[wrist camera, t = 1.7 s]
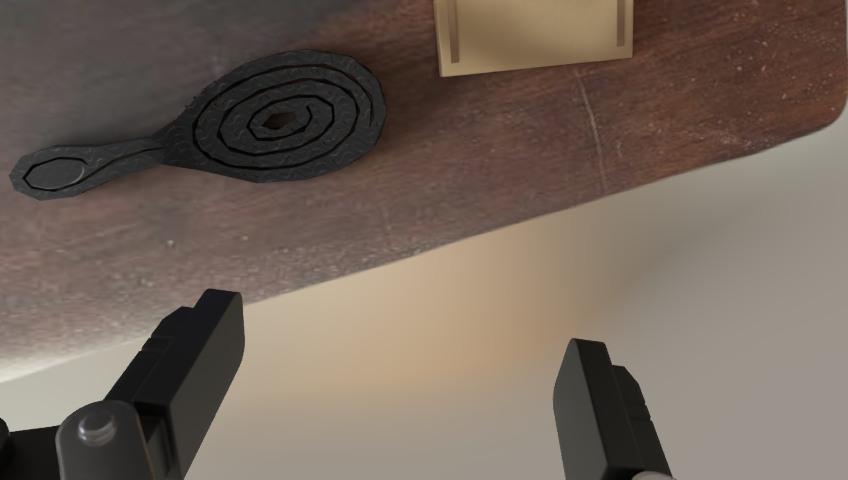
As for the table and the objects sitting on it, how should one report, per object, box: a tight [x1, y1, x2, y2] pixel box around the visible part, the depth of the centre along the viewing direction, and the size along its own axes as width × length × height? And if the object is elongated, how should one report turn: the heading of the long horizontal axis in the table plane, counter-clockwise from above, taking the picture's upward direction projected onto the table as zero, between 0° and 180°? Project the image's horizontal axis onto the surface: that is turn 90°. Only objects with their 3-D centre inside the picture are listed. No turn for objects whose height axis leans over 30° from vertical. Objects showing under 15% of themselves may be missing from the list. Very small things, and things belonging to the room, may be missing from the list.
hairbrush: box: [9, 49, 387, 201], centre depth 36 cm, size 8×4×25 cm
